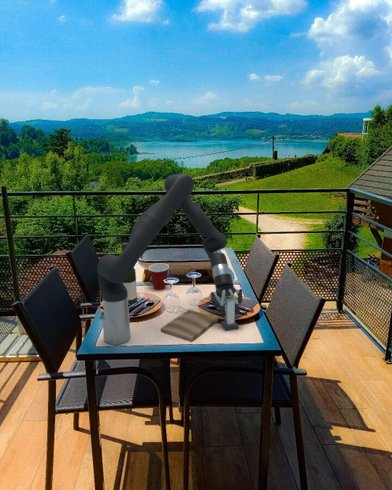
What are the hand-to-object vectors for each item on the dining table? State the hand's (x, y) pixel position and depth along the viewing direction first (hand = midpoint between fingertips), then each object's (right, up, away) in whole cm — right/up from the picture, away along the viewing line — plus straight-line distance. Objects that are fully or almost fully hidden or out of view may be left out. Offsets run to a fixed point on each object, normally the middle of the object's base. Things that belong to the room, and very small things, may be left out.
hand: (231, 315), depth 145 cm
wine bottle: (-45, 0, +25) cm, 52 cm away
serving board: (-16, -5, +4) cm, 18 cm away
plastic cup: (-33, +5, +45) cm, 56 cm away
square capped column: (0, -6, +3) cm, 6 cm away
